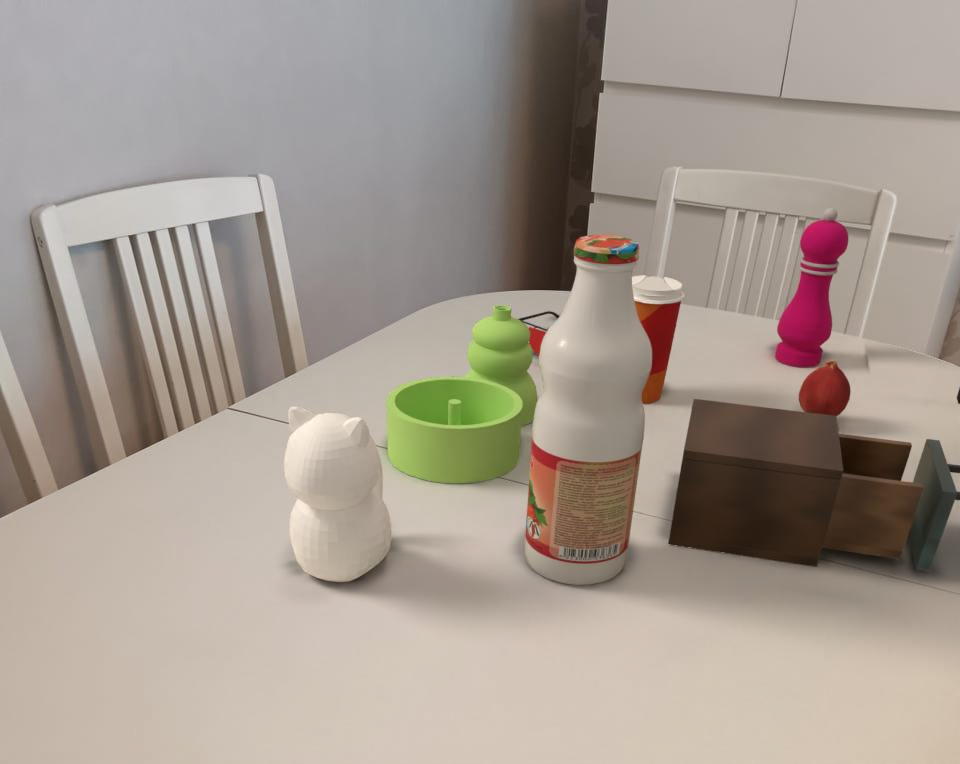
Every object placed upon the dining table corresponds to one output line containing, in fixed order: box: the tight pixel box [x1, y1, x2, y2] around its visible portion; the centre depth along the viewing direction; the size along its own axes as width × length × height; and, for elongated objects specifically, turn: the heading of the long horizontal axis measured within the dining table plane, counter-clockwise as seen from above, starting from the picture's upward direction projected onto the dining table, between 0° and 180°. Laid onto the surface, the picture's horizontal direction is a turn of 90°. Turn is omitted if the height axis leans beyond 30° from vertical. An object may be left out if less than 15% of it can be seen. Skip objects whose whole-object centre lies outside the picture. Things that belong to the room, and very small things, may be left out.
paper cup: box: [632, 274, 686, 405], centre depth 119 cm, size 8×8×14 cm
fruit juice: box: [524, 234, 652, 586], centre depth 81 cm, size 9×9×28 cm
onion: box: [798, 359, 851, 417], centre depth 115 cm, size 6×6×8 cm
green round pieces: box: [385, 304, 538, 484], centre depth 108 cm, size 25×15×13 cm, turn 157°
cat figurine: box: [283, 405, 392, 583], centre depth 84 cm, size 9×12×15 cm
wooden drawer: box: [822, 433, 960, 572], centre depth 91 cm, size 18×12×8 cm, turn 76°
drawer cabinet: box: [667, 398, 843, 567], centre depth 93 cm, size 14×13×10 cm
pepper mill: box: [774, 207, 849, 368], centre depth 130 cm, size 7×7×20 cm
